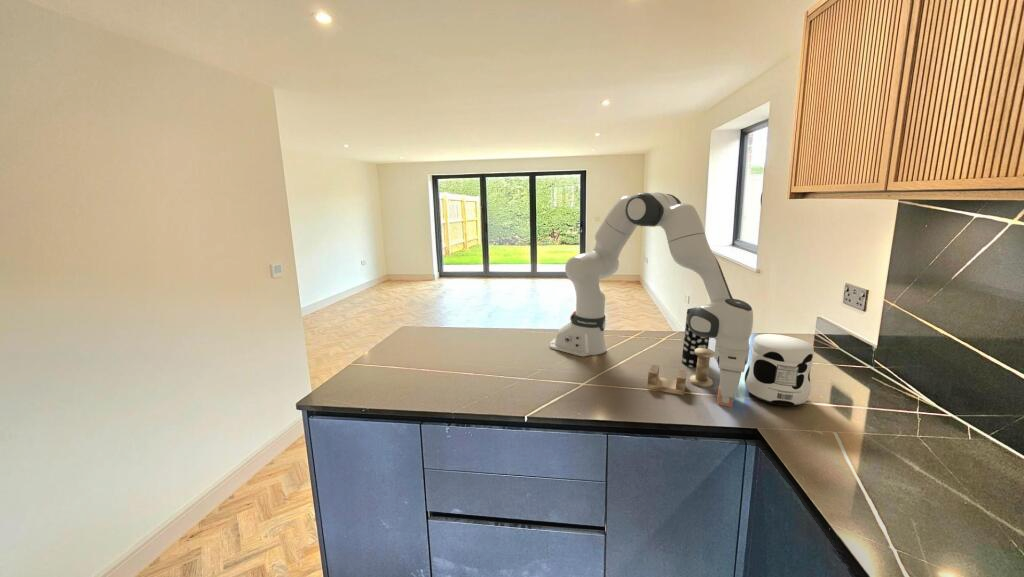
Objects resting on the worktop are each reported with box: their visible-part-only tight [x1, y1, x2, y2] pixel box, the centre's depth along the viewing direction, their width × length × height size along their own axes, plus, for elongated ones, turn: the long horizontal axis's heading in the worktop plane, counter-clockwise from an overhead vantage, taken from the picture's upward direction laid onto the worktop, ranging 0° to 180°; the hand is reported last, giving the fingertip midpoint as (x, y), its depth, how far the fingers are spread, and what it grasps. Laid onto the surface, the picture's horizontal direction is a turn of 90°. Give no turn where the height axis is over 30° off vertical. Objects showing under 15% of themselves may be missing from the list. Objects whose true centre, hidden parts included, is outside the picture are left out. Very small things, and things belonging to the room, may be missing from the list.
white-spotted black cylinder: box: [681, 307, 710, 369], centre depth 155 cm, size 8×8×20 cm
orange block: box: [716, 382, 734, 408], centre depth 128 cm, size 4×4×5 cm
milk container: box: [744, 333, 815, 407], centre depth 130 cm, size 17×17×18 cm
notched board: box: [646, 364, 688, 396], centre depth 138 cm, size 11×7×6 cm, turn 65°
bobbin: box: [689, 348, 715, 388], centre depth 141 cm, size 7×7×11 cm
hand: (725, 397), depth 128 cm, fingers closed on orange block, 4 cm apart
